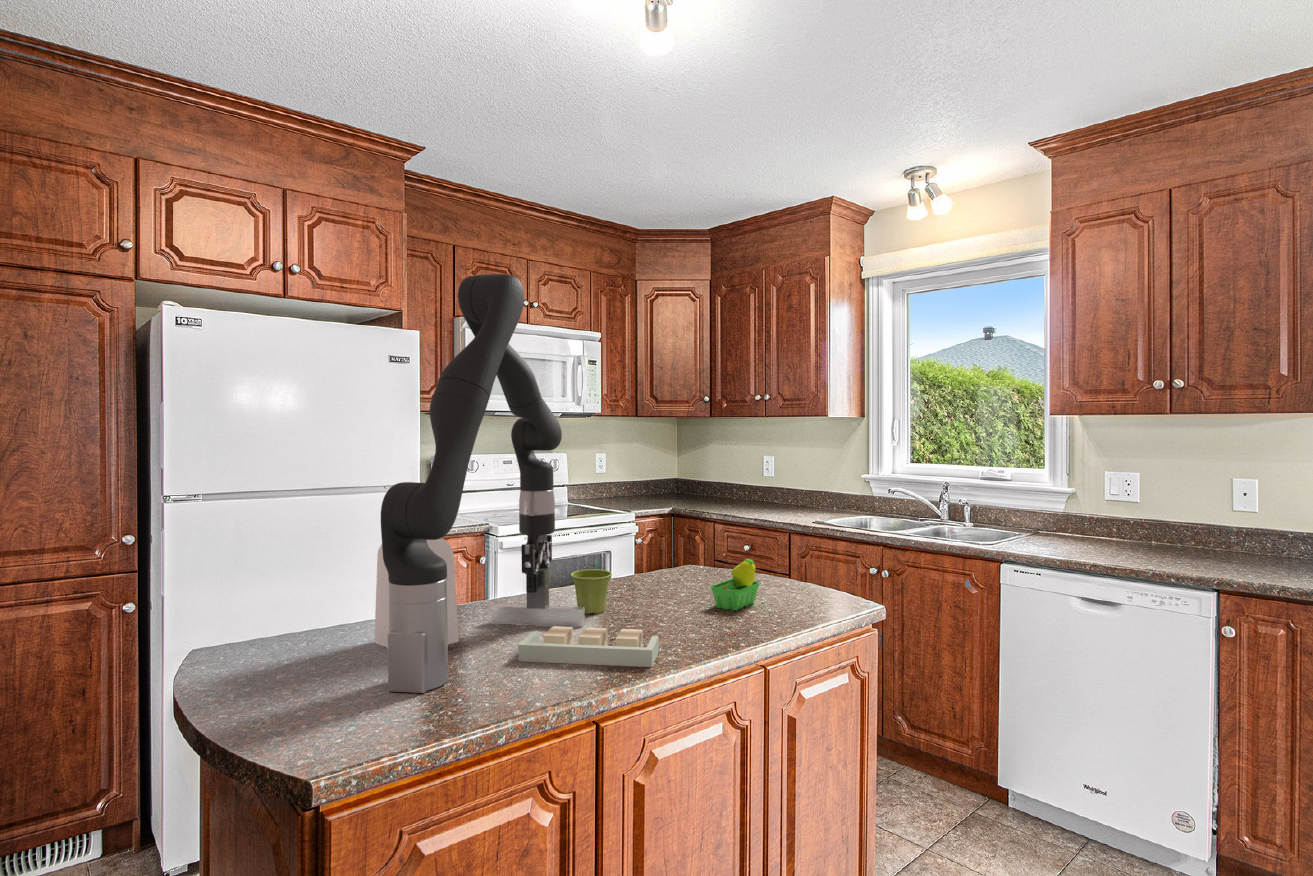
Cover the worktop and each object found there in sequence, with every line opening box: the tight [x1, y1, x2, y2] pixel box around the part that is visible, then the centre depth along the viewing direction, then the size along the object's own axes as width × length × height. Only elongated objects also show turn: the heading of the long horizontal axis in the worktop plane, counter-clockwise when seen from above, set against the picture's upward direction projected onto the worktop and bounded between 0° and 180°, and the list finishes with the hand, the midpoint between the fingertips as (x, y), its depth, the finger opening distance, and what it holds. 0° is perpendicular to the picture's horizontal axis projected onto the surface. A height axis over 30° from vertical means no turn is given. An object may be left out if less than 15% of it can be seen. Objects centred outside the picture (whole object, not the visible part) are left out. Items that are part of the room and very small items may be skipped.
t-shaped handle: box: [491, 567, 586, 628], centre depth 152 cm, size 3×20×12 cm, turn 82°
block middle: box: [577, 627, 609, 646], centre depth 133 cm, size 6×4×4 cm, turn 170°
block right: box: [615, 628, 644, 647], centre depth 132 cm, size 6×4×4 cm, turn 172°
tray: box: [517, 630, 660, 668], centre depth 131 cm, size 8×24×3 cm, turn 82°
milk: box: [373, 537, 460, 649], centre depth 140 cm, size 12×12×26 cm
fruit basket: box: [710, 558, 761, 611], centre depth 167 cm, size 11×9×11 cm
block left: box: [542, 626, 574, 644], centre depth 134 cm, size 6×4×4 cm, turn 172°
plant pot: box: [570, 568, 613, 615], centre depth 163 cm, size 9×9×9 cm
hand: (537, 587), depth 152 cm, fingers open, 7 cm apart
